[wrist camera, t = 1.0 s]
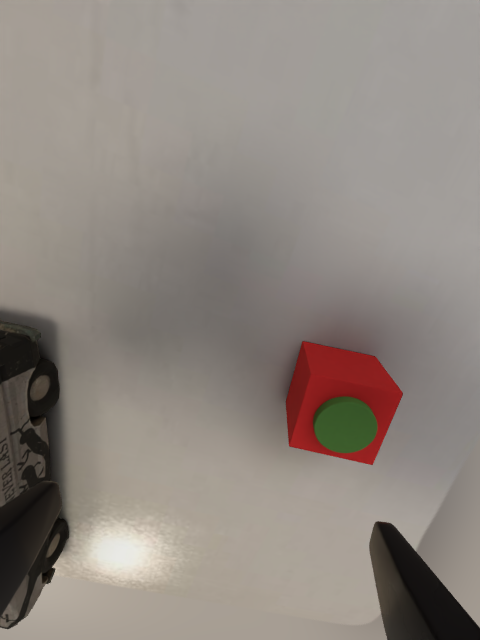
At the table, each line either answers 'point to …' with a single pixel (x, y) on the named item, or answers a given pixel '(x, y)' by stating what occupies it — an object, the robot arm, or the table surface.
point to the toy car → (26, 448)
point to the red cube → (340, 403)
